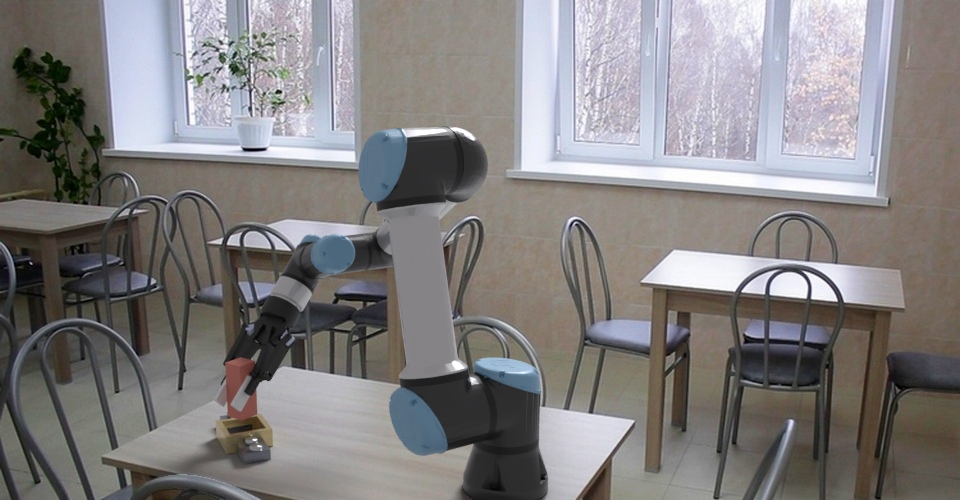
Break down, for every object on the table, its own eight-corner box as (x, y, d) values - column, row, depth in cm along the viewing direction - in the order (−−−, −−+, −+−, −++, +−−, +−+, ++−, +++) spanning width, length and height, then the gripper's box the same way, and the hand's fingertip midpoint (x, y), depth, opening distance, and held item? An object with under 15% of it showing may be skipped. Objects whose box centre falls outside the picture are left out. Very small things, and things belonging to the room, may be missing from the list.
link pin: (257, 414, 193) (255, 361, 191) (242, 420, 190) (239, 366, 188) (243, 409, 195) (240, 357, 193) (227, 416, 192) (225, 362, 190)
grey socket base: (281, 457, 186) (280, 440, 185) (233, 466, 182) (233, 448, 181) (253, 419, 205) (253, 403, 204) (210, 426, 201) (209, 410, 200)
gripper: (326, 320, 197) (269, 424, 187) (265, 307, 206) (207, 405, 196) (307, 300, 192) (247, 406, 182) (245, 288, 201) (185, 387, 191)
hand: (227, 405), depth 189 cm, fingers closed on link pin, 4 cm apart
